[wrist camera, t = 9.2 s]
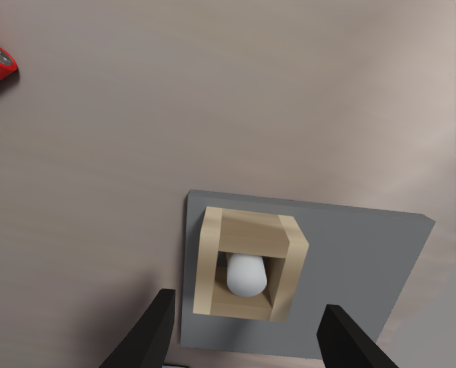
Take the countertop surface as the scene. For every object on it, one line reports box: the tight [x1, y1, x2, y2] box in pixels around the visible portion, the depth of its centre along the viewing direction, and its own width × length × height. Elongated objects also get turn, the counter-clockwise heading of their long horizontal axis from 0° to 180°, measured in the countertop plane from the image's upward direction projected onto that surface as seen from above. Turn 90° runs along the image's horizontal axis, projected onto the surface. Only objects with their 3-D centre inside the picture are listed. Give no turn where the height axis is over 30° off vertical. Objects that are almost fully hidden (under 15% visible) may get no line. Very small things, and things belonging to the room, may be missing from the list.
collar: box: [193, 206, 309, 323], centre depth 13 cm, size 6×6×3 cm
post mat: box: [180, 190, 436, 360], centre depth 15 cm, size 14×16×4 cm
